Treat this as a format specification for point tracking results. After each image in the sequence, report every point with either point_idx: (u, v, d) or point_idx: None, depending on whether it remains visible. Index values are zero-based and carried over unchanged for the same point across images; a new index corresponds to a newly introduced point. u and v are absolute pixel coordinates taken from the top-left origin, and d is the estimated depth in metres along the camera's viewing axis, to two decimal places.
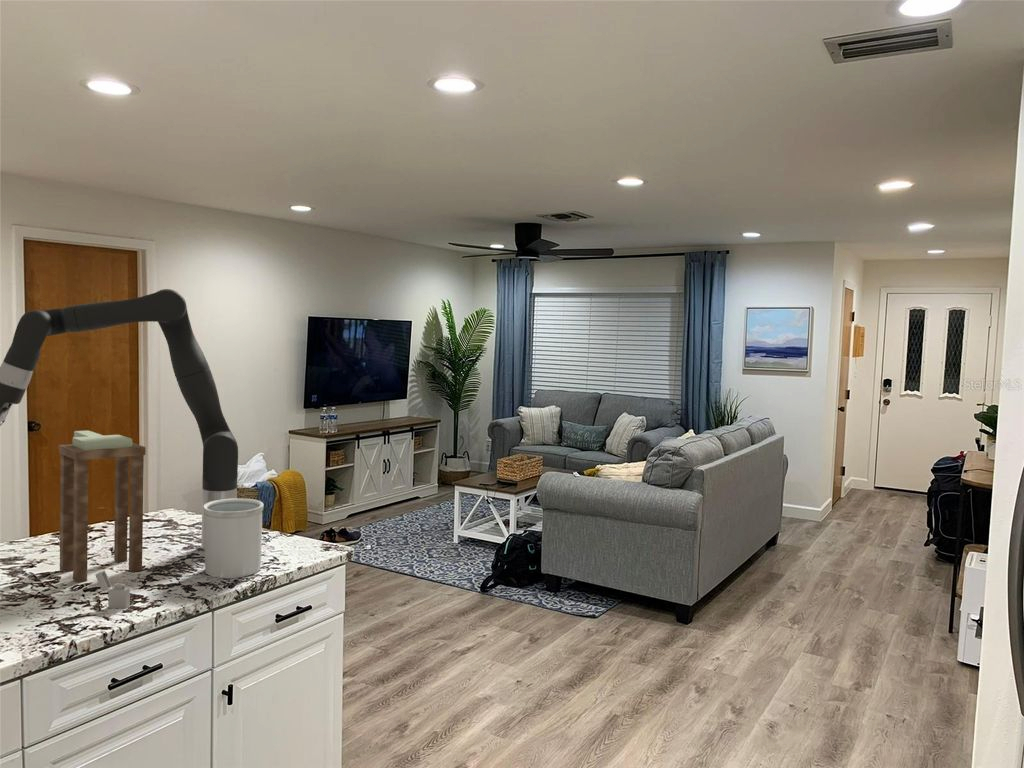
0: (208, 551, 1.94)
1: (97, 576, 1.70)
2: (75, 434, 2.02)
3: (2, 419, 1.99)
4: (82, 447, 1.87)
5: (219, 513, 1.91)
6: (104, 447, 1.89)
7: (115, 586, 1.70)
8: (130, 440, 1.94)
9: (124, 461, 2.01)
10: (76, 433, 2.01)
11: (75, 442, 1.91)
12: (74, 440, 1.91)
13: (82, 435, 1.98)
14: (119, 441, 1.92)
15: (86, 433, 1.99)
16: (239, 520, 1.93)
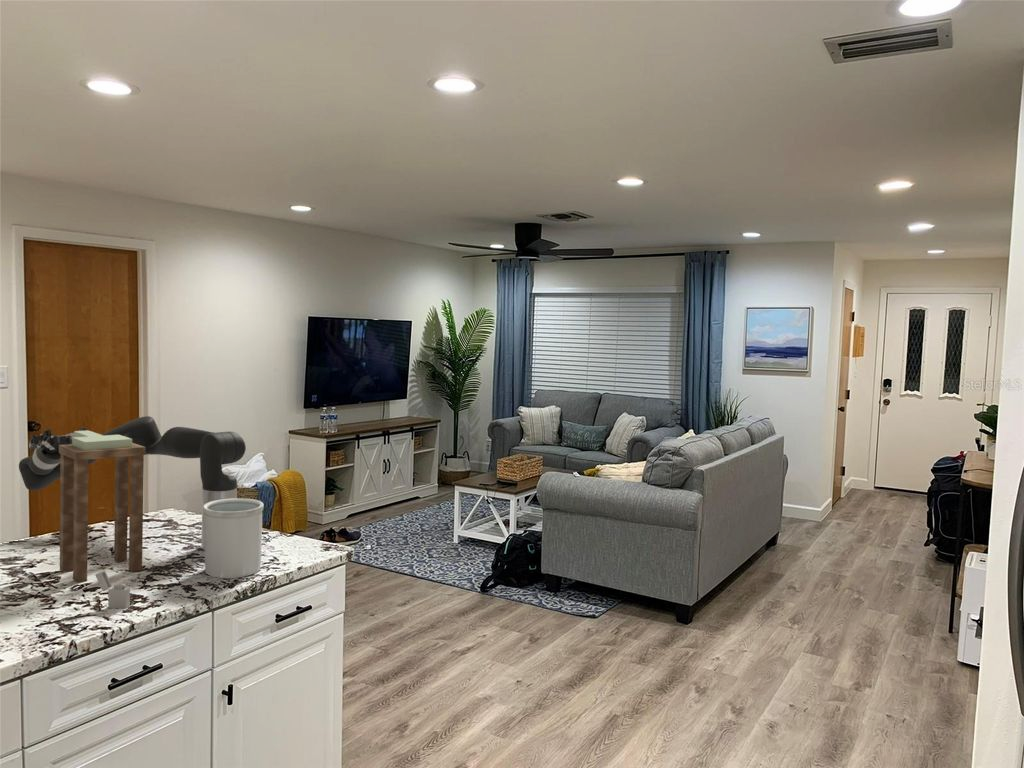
0: (208, 551, 1.94)
1: (97, 576, 1.70)
2: (75, 434, 2.02)
3: (70, 434, 2.17)
4: (82, 447, 1.87)
5: (219, 513, 1.91)
6: (104, 447, 1.89)
7: (115, 586, 1.70)
8: (130, 440, 1.94)
9: (124, 461, 2.01)
10: (76, 433, 2.01)
11: (75, 442, 1.91)
12: (74, 440, 1.91)
13: (82, 435, 1.98)
14: (119, 441, 1.92)
15: (86, 433, 1.99)
16: (239, 520, 1.93)
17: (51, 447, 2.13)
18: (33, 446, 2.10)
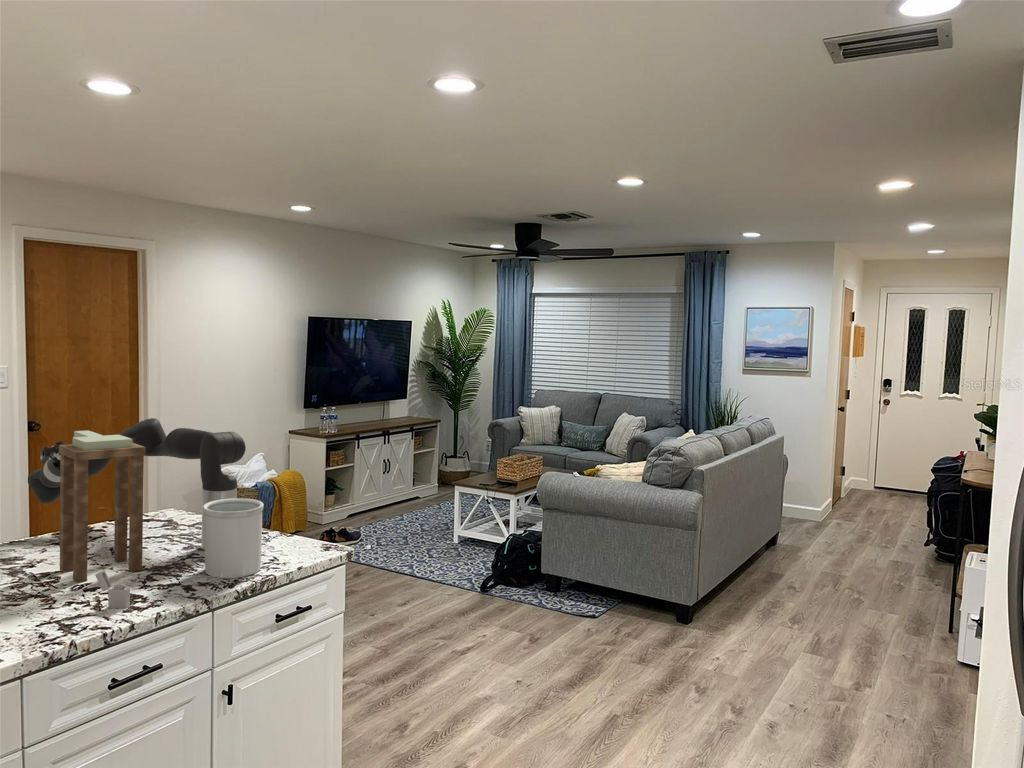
0: (208, 551, 1.94)
1: (97, 576, 1.70)
2: (75, 434, 2.02)
3: None
4: (82, 447, 1.87)
5: (219, 513, 1.91)
6: (104, 447, 1.89)
7: (115, 586, 1.70)
8: (130, 440, 1.94)
9: (124, 461, 2.01)
10: (76, 433, 2.01)
11: (75, 442, 1.91)
12: (74, 440, 1.91)
13: (82, 435, 1.98)
14: (119, 441, 1.92)
15: (86, 433, 1.99)
16: (239, 520, 1.93)
17: None
18: (44, 458, 2.04)
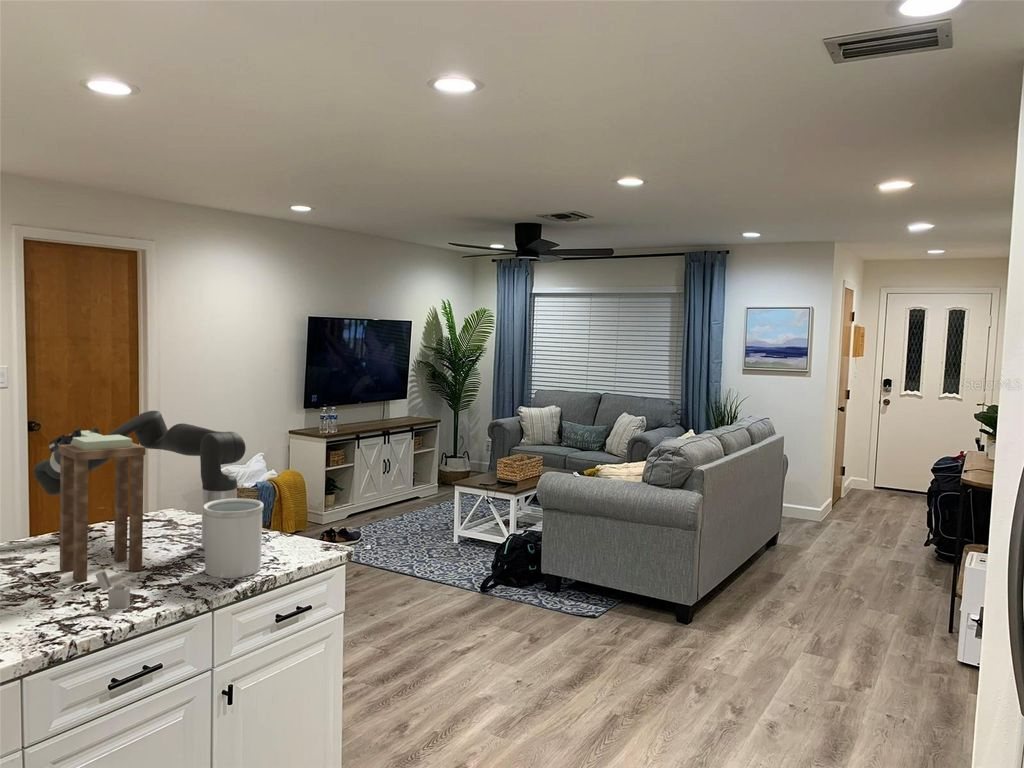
0: (208, 551, 1.94)
1: (97, 576, 1.70)
2: None
3: None
4: (82, 447, 1.87)
5: (219, 513, 1.91)
6: (104, 447, 1.89)
7: (115, 586, 1.70)
8: (130, 440, 1.94)
9: (124, 461, 2.01)
10: None
11: (75, 442, 1.91)
12: (74, 440, 1.91)
13: (82, 435, 1.98)
14: (119, 441, 1.92)
15: (86, 433, 1.99)
16: (239, 520, 1.93)
17: None
18: None
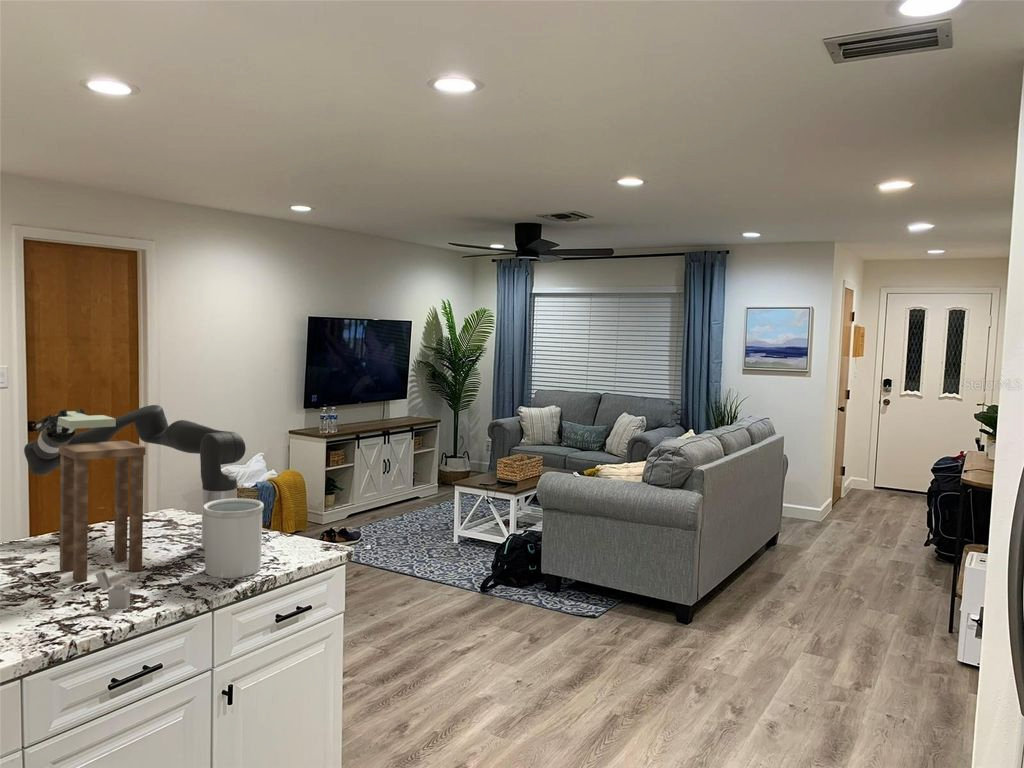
0: (208, 551, 1.94)
1: (97, 576, 1.70)
2: None
3: None
4: (67, 426, 1.95)
5: (219, 513, 1.91)
6: (88, 426, 1.97)
7: (115, 586, 1.70)
8: (113, 420, 2.01)
9: (124, 461, 2.01)
10: None
11: (60, 421, 1.98)
12: (59, 419, 1.99)
13: (68, 415, 2.05)
14: (103, 421, 1.99)
15: (72, 413, 2.07)
16: (239, 520, 1.93)
17: (60, 429, 2.11)
18: (45, 426, 2.08)
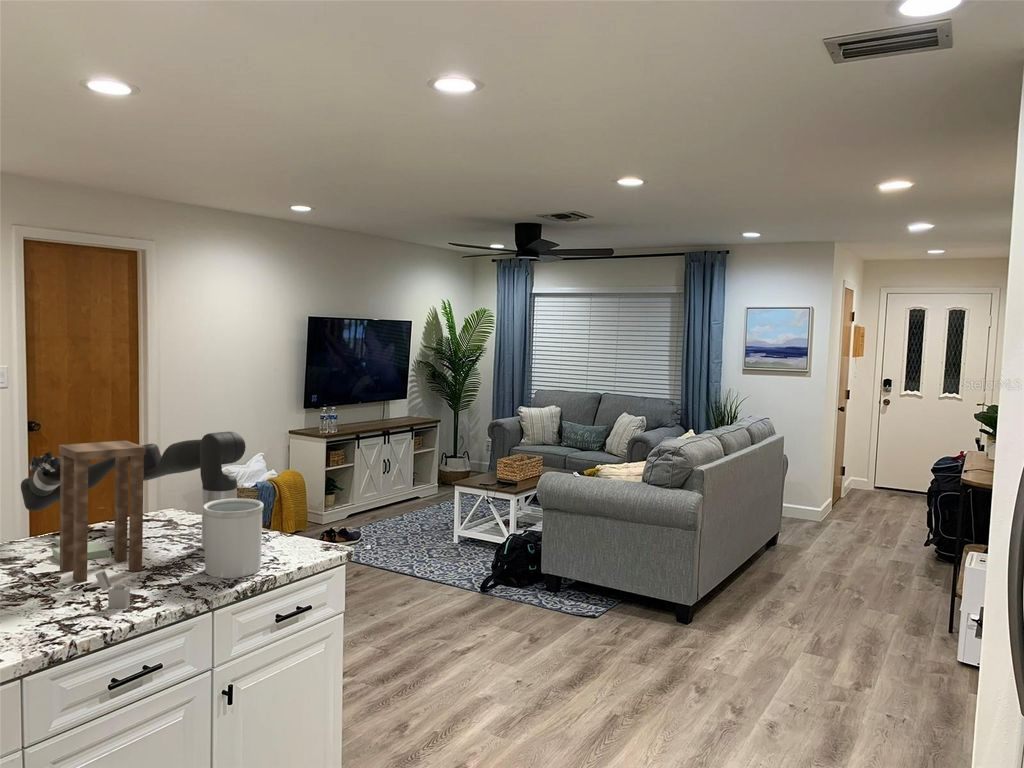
0: (208, 551, 1.94)
1: (97, 576, 1.70)
2: (56, 540, 2.15)
3: None
4: None
5: (219, 513, 1.91)
6: None
7: (115, 586, 1.70)
8: (107, 550, 2.07)
9: (124, 461, 2.01)
10: (56, 539, 2.14)
11: (55, 553, 2.04)
12: (53, 551, 2.04)
13: None
14: (96, 552, 2.05)
15: None
16: (239, 520, 1.93)
17: (52, 469, 2.14)
18: (34, 468, 2.11)
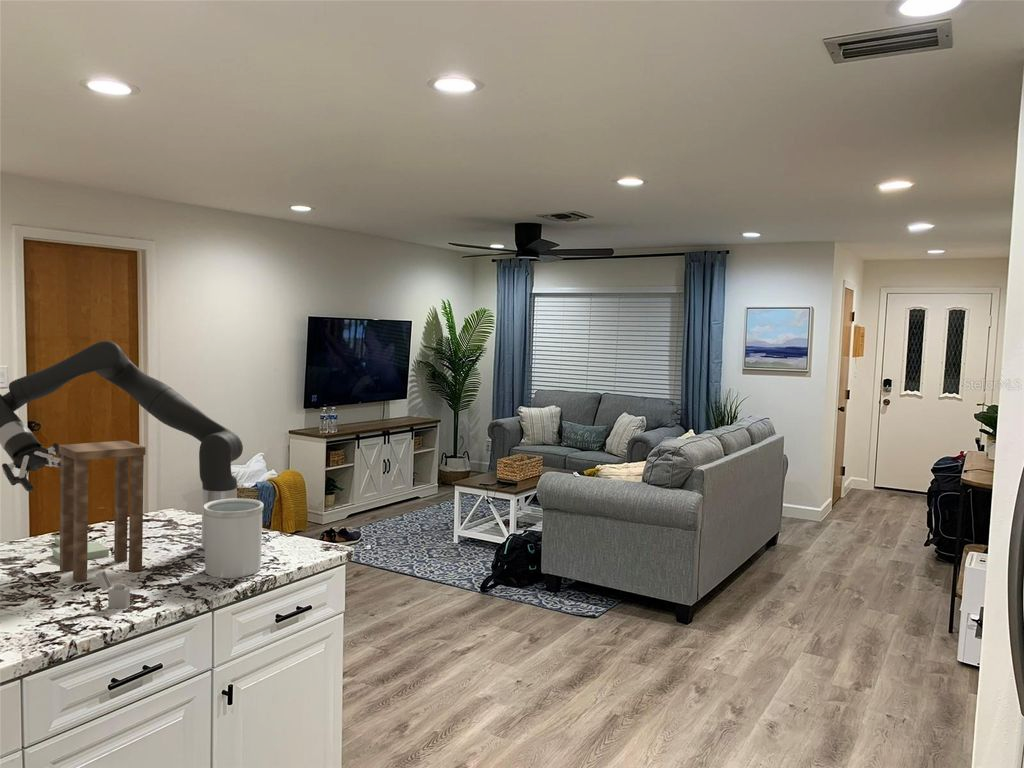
0: (208, 551, 1.94)
1: (97, 576, 1.70)
2: (56, 540, 2.15)
3: (48, 459, 2.02)
4: None
5: (219, 513, 1.91)
6: None
7: (115, 586, 1.70)
8: (107, 550, 2.07)
9: (124, 461, 2.01)
10: (56, 539, 2.14)
11: (55, 553, 2.04)
12: (53, 551, 2.04)
13: None
14: (96, 552, 2.05)
15: None
16: (239, 520, 1.93)
17: None
18: None
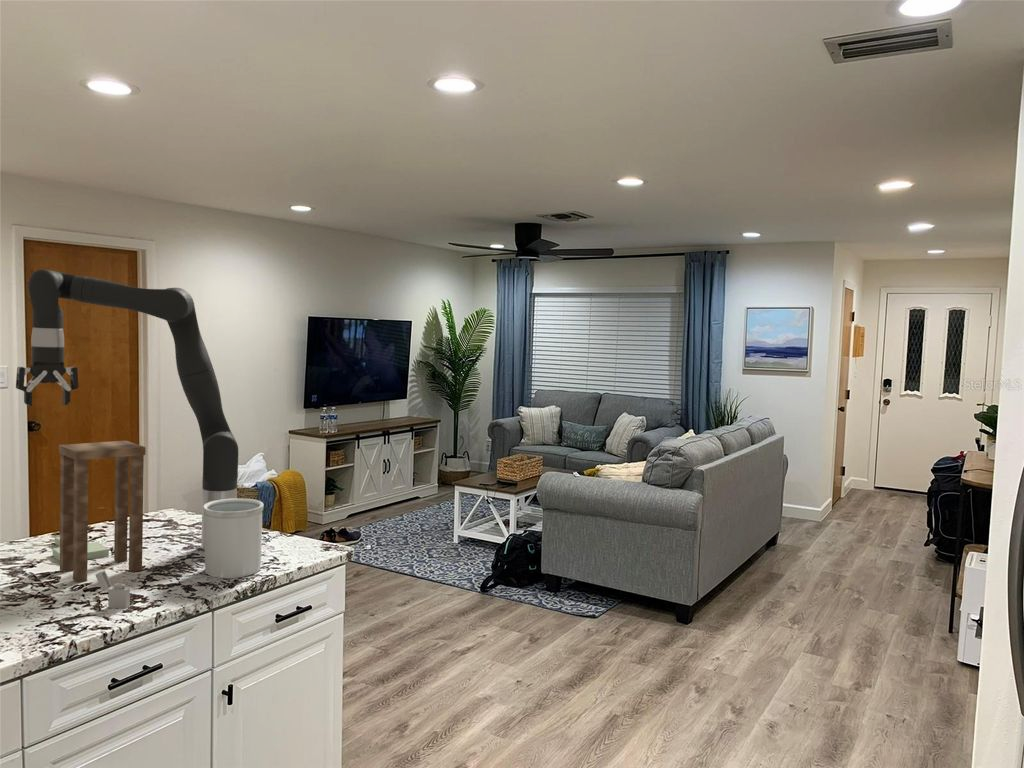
0: (208, 551, 1.94)
1: (97, 576, 1.70)
2: (56, 540, 2.15)
3: (60, 383, 2.06)
4: None
5: (219, 513, 1.91)
6: None
7: (115, 586, 1.70)
8: (107, 550, 2.07)
9: (124, 461, 2.01)
10: (56, 539, 2.14)
11: (55, 554, 2.04)
12: (53, 551, 2.04)
13: None
14: (96, 552, 2.05)
15: None
16: (239, 520, 1.93)
17: None
18: None
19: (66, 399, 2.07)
